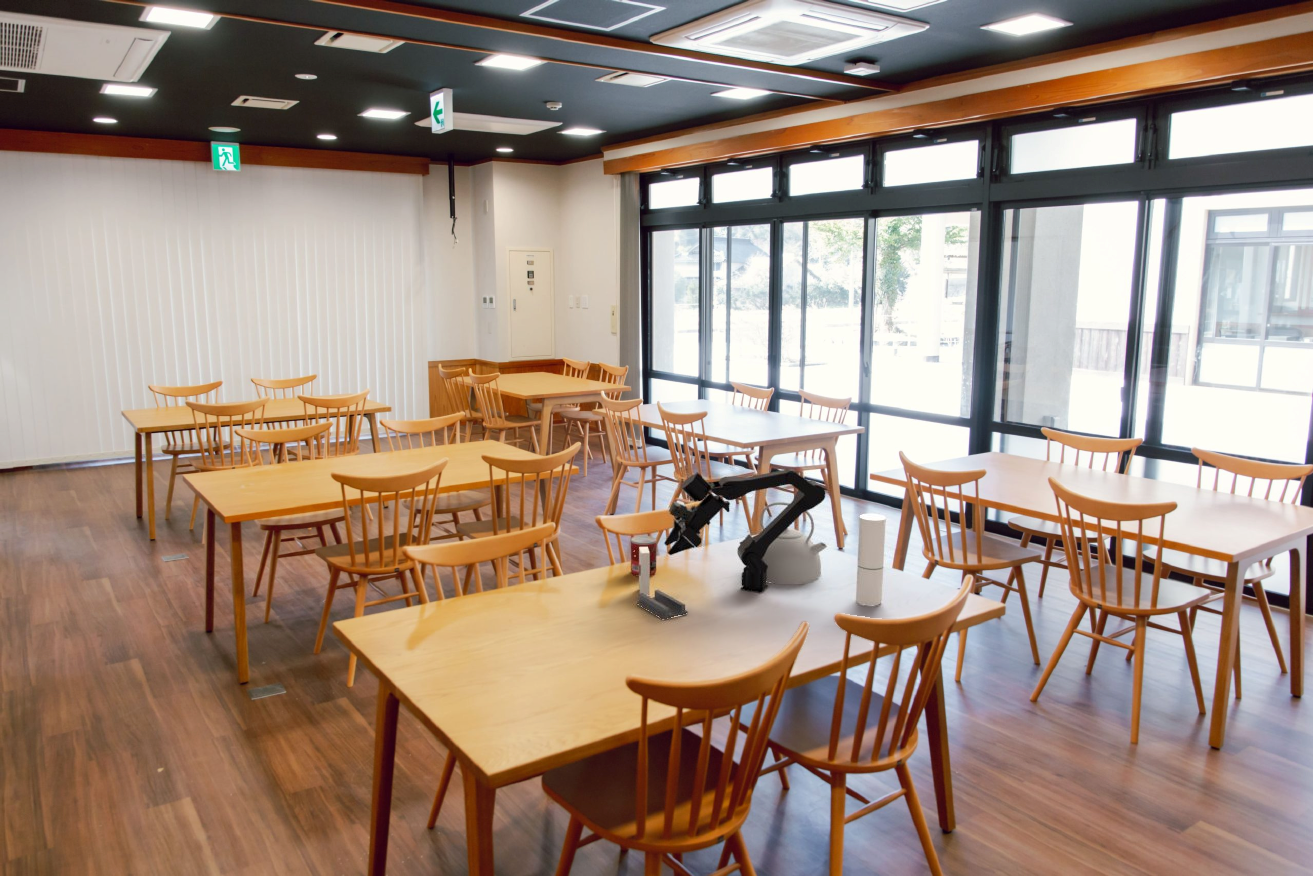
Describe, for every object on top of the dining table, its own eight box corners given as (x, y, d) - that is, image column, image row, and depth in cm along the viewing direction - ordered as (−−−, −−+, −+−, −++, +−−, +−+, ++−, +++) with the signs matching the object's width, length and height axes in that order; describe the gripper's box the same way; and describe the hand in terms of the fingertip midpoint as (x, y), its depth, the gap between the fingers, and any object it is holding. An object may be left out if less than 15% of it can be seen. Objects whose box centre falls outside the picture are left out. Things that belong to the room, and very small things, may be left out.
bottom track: (660, 599, 258) (660, 589, 257) (687, 614, 246) (687, 604, 246) (636, 604, 254) (636, 594, 253) (663, 620, 242) (663, 609, 242)
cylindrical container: (879, 597, 259) (883, 514, 255) (883, 606, 252) (887, 520, 248) (854, 596, 260) (858, 513, 256) (857, 605, 253) (861, 520, 249)
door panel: (647, 588, 267) (647, 546, 264) (649, 595, 261) (649, 553, 258) (637, 589, 266) (637, 547, 264) (639, 596, 260) (639, 553, 258)
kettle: (838, 570, 284) (841, 500, 280) (811, 591, 265) (813, 517, 261) (766, 557, 297) (768, 490, 293) (735, 576, 278) (736, 505, 274)
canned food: (656, 577, 277) (656, 542, 275) (630, 577, 277) (630, 542, 275) (656, 569, 284) (656, 535, 282) (631, 568, 284) (631, 535, 282)
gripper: (681, 485, 269) (644, 522, 269) (690, 501, 250) (650, 540, 251) (707, 510, 271) (670, 546, 272) (717, 527, 253) (678, 566, 253)
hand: (667, 549), depth 262 cm, fingers open, 9 cm apart
